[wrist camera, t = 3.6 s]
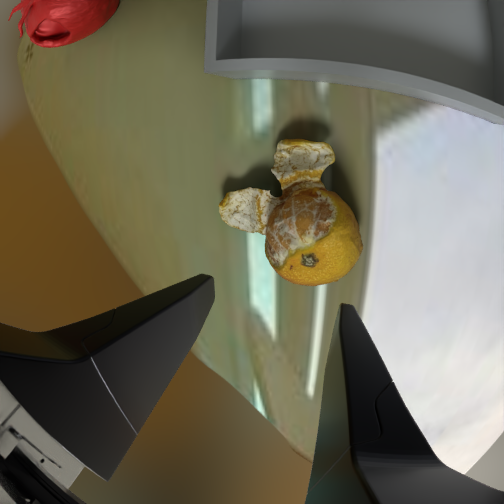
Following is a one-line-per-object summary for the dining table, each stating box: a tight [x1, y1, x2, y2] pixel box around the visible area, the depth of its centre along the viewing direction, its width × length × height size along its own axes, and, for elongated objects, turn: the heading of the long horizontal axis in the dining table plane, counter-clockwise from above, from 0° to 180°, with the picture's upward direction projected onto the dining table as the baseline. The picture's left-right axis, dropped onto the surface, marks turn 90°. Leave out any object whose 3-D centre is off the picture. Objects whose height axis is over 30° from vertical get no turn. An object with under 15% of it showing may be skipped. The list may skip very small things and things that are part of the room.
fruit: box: [219, 139, 363, 286], centre depth 16 cm, size 8×8×4 cm
